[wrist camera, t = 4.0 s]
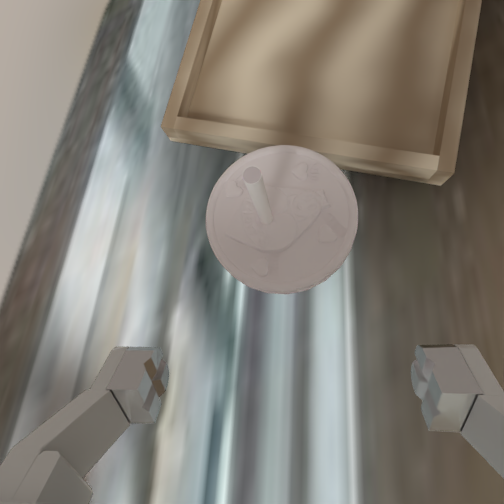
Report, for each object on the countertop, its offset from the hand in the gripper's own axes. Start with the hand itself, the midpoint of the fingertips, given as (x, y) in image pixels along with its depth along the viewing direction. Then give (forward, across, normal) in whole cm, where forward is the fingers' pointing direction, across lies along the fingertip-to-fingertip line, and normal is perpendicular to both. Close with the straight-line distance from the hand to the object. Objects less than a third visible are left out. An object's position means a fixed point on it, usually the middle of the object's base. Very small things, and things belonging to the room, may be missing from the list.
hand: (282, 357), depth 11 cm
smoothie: (+12, 0, +4) cm, 13 cm away
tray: (+23, -3, -7) cm, 24 cm away
